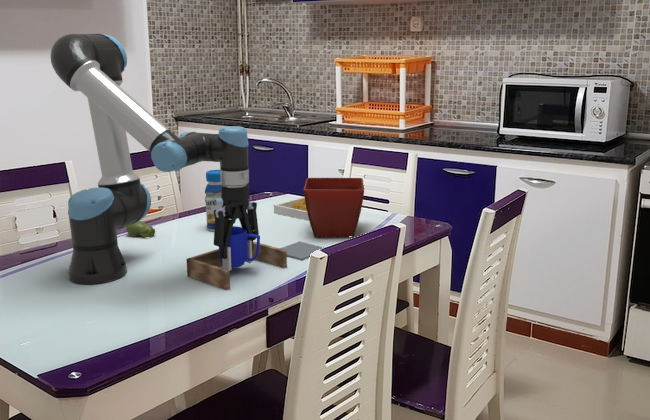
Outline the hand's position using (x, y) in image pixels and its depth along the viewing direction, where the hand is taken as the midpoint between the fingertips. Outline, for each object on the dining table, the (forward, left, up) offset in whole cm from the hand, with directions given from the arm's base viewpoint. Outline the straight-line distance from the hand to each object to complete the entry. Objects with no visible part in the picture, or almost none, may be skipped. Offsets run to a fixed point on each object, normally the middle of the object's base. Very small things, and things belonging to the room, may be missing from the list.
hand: (237, 265), depth 182 cm
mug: (0, +1, 0) cm, 1 cm away
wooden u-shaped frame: (0, 0, -2) cm, 2 cm away
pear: (-52, +4, -2) cm, 52 cm away
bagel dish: (-29, +60, -2) cm, 67 cm away
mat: (+1, +24, -2) cm, 24 cm away
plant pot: (-4, +46, -2) cm, 46 cm away
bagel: (-30, +59, -2) cm, 66 cm away
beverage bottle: (-38, +25, -2) cm, 45 cm away
